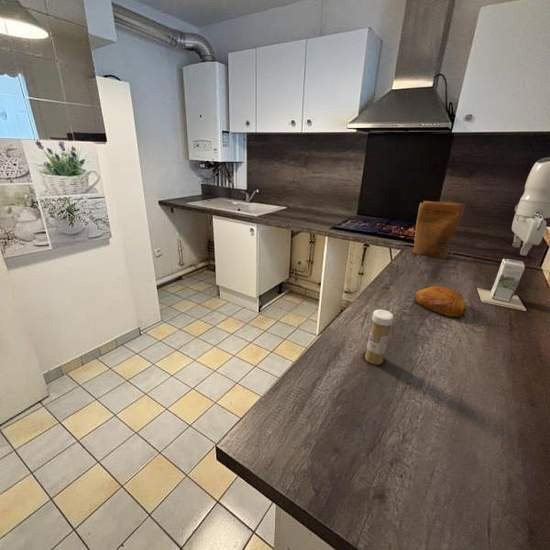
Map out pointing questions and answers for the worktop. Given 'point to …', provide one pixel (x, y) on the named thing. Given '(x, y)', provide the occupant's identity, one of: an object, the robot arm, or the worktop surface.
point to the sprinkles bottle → (378, 336)
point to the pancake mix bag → (436, 227)
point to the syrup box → (507, 280)
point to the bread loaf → (442, 300)
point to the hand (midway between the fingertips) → (519, 250)
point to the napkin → (514, 303)
